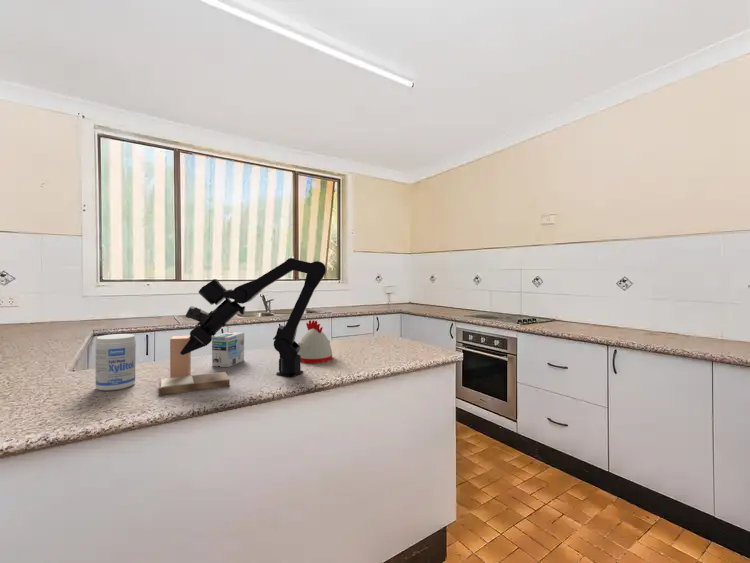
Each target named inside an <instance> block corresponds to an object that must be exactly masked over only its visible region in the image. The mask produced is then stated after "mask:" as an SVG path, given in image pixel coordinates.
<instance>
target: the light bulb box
mask: <svg viewBox="0 0 750 563" xmlns="http://www.w3.org/2000/svg"><path fill="white" fill-rule="evenodd" d="M244 361H245V332H238V331H237V332H236V331H227V332H224V333H220V334H215V335H214V336H212V341H211V366H212V367H218V366H220V368H231V367H233V366H235V365H236V364H237V365H238V364H240V363H242V362H244ZM239 362H240V363H239Z"/></svg>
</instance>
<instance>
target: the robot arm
mask: <svg viewBox="0 0 750 563" xmlns="http://www.w3.org/2000/svg"><path fill="white" fill-rule="evenodd" d="M293 271H295V272H300V273H304V274H305V279H304V284H303V287H302V288H301V292H300V294H299V295H298V298H297V300H296V302H295V304H294V307H293V308H292V311H291V313H290V315H289V317H288V320H287V321H286V323H285V324H284V325H283V324H280V326H278V328H277V330H276V334H275V336H273V338H272V340H273V347H274V349H275V351H277V352H278V354H279V359H278V372H276V375H278V376H283V377H289V378H293V377H296V376H298V375H300V374H303V373H304V370H301V364H302V362H301V355H299V354H298V352H299V350H300V346H299V345H298V342H296V341H295V339H296V336H297V331H298V328H299V324H300V322H301V320H302V318H303V316H304V314H305V311H306V309H307V307H308V304H310V303H309V302H310V300H311V298H312V296H313V294H314V292H315V290H316V288H317V287H318V286H319V284H320V283H321V281H322V280H323V279H324V277H325V276H326V274H327V266H326V264H325V263H324V262H322V261H319V260H317V261H313V262H309V261H303V260H300V259H297V258H293V257H290V258H287V259H286V260H285V261H284V262H282V263H280V264H278V265H277V266H276V267H274V268H272V269H271V270H269V271H267V272H265V274H263V275H261V276H259V277H258V278H257V279H254V280H251V281H248V282H246V283H245V282H244V283H243V284H241V285H238V286H236V287H235V288H234V289H232V288H231V289H226V288H225V286H223V285H222V284H221V282H220V281H219V280H218V279H216V278H213V279H212V280H211V281H209V282H208V283H206V284H205V285H203V286H202V287H201V288H200V289H198V294H199V295H200V296H201V297H202V298H203V299H204V300H206V302H208V303H209V305H210V306H212V305H214V304H215V306H216V308H215V309H214V310H211V311H210V312H207V311H205V310H203V309H201V308H198V307H197V306H196V307H195V306H192V305H190V307H189V308H188V309H187V311H186V314H185V315H184V317H185V318H188V319H192V320H194V321H196V322H198V323H197V324H196V325H195V326H194V327H193V328H192V329H191V330H190V332H189V335H190V340H189V341H188V343H187V344H186V345H185V347H184V348H183V349H182V351H181V352H180V354H182V355H184V354H187V353H189V352H194V351H196V350H198V349H202V348H204V347H206V346H208V345H209V344H211V343H212V336H216V335H217V333H218V332H219V331H220V330H221V329H222V328H223V327H225V326H226V325H227V323H228V322H229V321H231V319H232V318H234V316H236V315H237V314H238V313H239V314H241V315H244V316H245V314H246V306H245V305H243V304H247V303H249V302H251V301H253V300H254V299H255V298H256V297H257V296H258V295H259V294H261V292H262V291H263V290H265V288H268V286H270V285H272V284H274V283H275V282H277V281H278V280H279V279H282V278H283V277H285V276H286V275H288V274H289V273H291V272H293ZM232 300H233V301H232ZM241 304H242V305H243V306H242V305H241Z"/></svg>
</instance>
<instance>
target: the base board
mask: <svg viewBox="0 0 750 563" xmlns="http://www.w3.org/2000/svg"><path fill="white" fill-rule="evenodd" d="M230 380H231V379H230V378H229V375H228V374H227V373H226V371H220V372H212V373H204V374H195V375H191V376H183V377H174V378H170V377H167V378H161V379H159V384H158V396H166V395H167V396H168V395H174V394H181V393H187V392H196V390H197V391H202V390H203V389H204V390H211V389H210V388H212V389H218V388H217V387H219V388H225V387H224V386H227V387H230V385H231V384H230ZM204 390H203V391H204Z"/></svg>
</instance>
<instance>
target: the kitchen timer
mask: <svg viewBox="0 0 750 563" xmlns="http://www.w3.org/2000/svg"><path fill="white" fill-rule="evenodd" d="M305 324H306V328H307V331H306V332H305V333H304V334H303V335H302V336H301V338H300V340H299V342H297V344H298V345H299V346H300V350H299V352H298V354H299V355H301V363H305V364H322V363H327V362H330V361H331V359H332V360H333V351H332V347H331V341H330V339H328V336H326V334H325V333H324V332H323V329H324V327H323V326H322V327H321V323H318V320H315V319H314V320H313V319H312V320H308V322H306V323H305Z"/></svg>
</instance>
